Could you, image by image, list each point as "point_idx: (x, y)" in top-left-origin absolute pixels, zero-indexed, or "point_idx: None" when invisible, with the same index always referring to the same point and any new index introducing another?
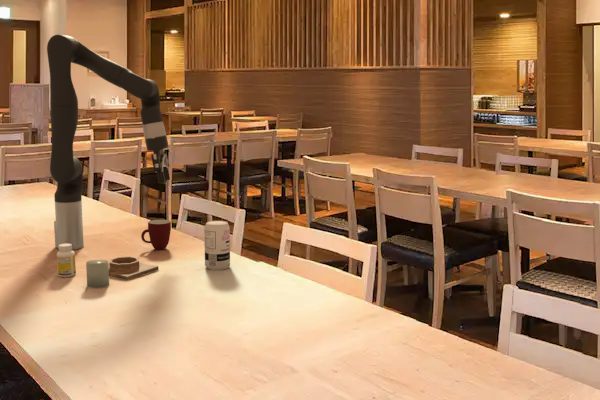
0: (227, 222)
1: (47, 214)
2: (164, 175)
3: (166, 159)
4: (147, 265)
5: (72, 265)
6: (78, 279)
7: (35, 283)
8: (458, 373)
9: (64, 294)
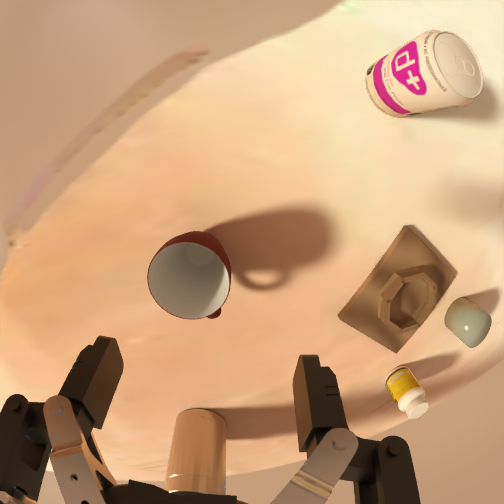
0: (451, 32)
1: None
2: (108, 388)
3: (83, 500)
4: (398, 253)
5: (414, 376)
6: (423, 351)
7: None
8: None
9: None
